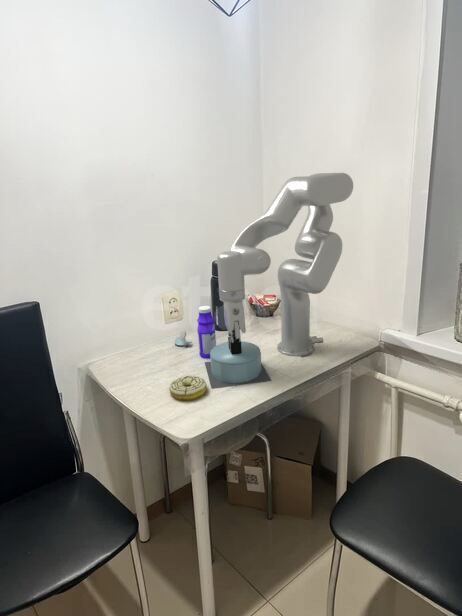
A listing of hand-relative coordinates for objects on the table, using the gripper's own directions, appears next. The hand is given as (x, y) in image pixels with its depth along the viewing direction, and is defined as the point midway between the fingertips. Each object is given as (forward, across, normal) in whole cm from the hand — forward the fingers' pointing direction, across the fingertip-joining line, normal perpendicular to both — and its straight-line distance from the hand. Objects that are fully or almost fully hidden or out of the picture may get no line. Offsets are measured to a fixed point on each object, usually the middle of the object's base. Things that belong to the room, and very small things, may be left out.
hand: (235, 350), depth 127 cm
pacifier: (+8, +26, +16) cm, 31 cm away
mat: (+7, 0, 0) cm, 7 cm away
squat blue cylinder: (+7, 0, 0) cm, 7 cm away
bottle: (+8, +15, +7) cm, 18 cm away
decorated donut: (+8, -9, +16) cm, 20 cm away
